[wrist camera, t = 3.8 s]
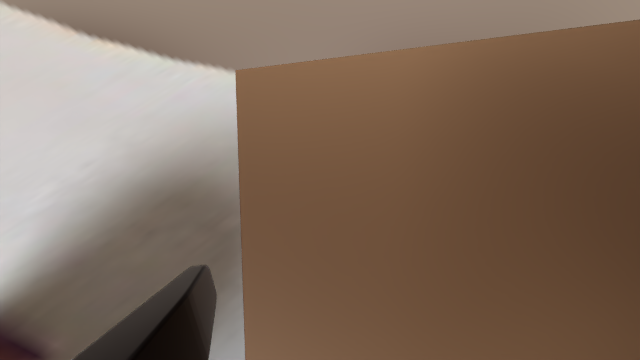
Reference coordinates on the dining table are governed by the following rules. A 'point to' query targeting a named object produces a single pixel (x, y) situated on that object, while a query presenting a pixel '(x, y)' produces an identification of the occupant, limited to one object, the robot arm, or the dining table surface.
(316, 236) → the walnut post
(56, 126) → the dining table surface
